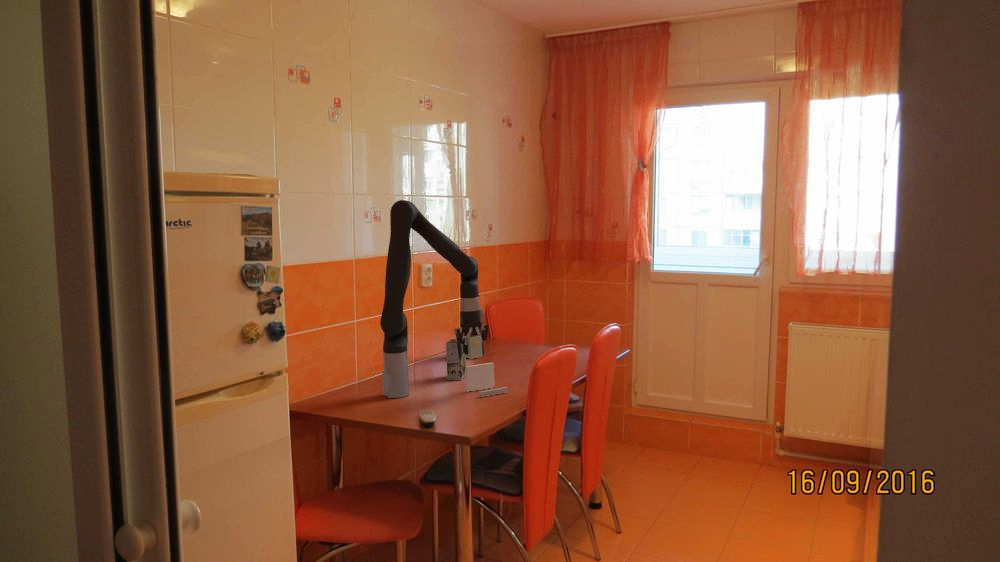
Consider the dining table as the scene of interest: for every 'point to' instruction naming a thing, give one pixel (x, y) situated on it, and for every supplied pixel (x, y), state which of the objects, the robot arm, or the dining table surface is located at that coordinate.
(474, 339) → the cabinet block
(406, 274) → the robot arm
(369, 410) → the dining table surface
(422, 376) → the dining table surface
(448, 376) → the coffee box
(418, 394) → the dining table surface
